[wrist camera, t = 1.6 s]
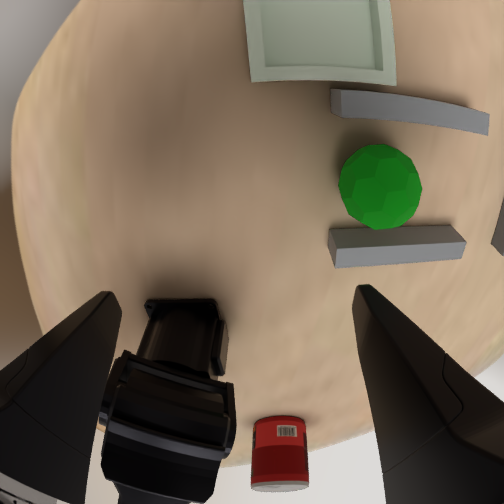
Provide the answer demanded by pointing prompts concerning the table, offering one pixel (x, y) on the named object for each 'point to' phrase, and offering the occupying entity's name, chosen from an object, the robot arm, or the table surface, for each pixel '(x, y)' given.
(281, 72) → the dish
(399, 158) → the polyhedron
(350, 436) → the table surface
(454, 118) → the channel
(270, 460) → the canned food
